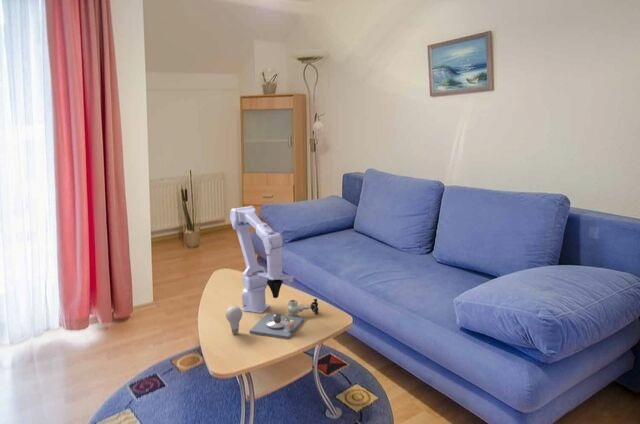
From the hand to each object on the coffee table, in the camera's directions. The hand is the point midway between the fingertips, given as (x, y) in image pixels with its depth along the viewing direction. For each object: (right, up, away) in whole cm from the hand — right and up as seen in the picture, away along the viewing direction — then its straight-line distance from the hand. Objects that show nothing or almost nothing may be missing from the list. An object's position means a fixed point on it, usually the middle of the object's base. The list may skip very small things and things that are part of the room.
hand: (275, 297), depth 179 cm
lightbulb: (-15, -13, -7) cm, 21 cm away
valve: (+10, -9, +8) cm, 16 cm away
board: (+1, -11, -2) cm, 11 cm away
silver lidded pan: (+2, -10, -4) cm, 11 cm away
